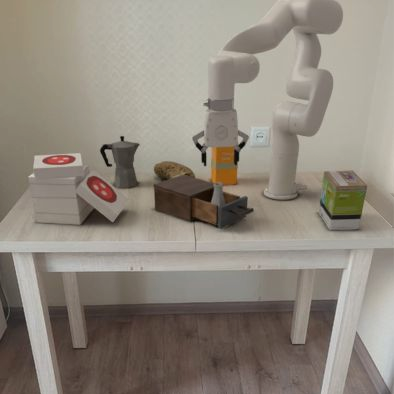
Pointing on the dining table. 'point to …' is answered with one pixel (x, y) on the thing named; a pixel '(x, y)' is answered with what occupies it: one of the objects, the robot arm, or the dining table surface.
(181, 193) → the cabinet
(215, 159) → the orange juice
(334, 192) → the tea box
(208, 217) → the drawer
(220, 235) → the dining table surface
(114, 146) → the coffeepot
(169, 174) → the sponge
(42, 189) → the pizza boxes
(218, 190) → the flask
